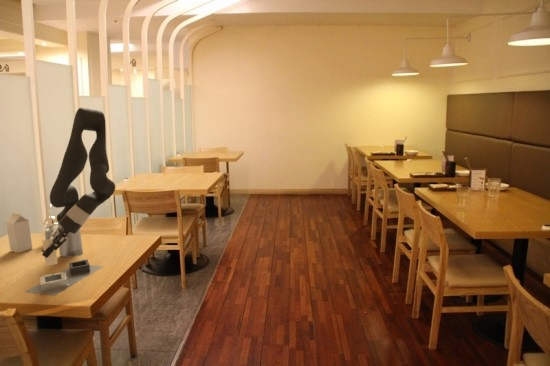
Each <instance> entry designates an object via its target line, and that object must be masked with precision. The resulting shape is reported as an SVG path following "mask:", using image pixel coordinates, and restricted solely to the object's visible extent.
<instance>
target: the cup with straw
mask: <svg viewBox="0 0 550 366" xmlns="http://www.w3.org/2000/svg"><path fill="white" fill-rule="evenodd" d="M52 206H53V205H52V204H51V203H50V204H49V206H48V211H49V216H47V217H46V218H45V219H44V221H43V223H42V227H44V229H45V230H44V231H47V230H49V231H50V237H52V235H53V234H54V233H55V231H56V230H57V228H58V223H57V216H54V215H52Z"/></svg>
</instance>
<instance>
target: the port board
mask: <svg viewBox="0 0 550 366" xmlns="http://www.w3.org/2000/svg"><path fill="white" fill-rule="evenodd" d="M89 266H90V272H85V273H81V274H76V275H71V272H70V267H67V268H65V269H64V270H61V272H65V273H66V277H67V284H68V287H64V288H59V289H55V290H50V291H45V292H41V285H40V283H38V284H36V285H34V286H31V288H28V289H27V290H25V291H24V293H27V294H28V293H29V294H39V295H46V296H47V295H48V296H57V295H58V294H60V293H62V292H63V291H65V290H66V289H69V288H70V287H72V286H73V285H75V284H76V283H79V282H80V281H82V280H83V279H85V278H87V277H88V276H89V275H92V274H93V273H95V272H97V271H99V269H102V268H103V267H104V266H102V265H93V264H92V265H91V264H89Z"/></svg>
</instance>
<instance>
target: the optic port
mask: <svg viewBox="0 0 550 366" xmlns="http://www.w3.org/2000/svg"><path fill="white" fill-rule="evenodd" d="M39 281H40V282H39V284H40V285H41V292H45V291H50V290H55V289H59V288H64V287H68V284H67V277H66V273H65V272H62V271H60V272H56V273H51V274H46V275H42V276H40V275H39ZM68 288H69V287H68Z"/></svg>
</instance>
